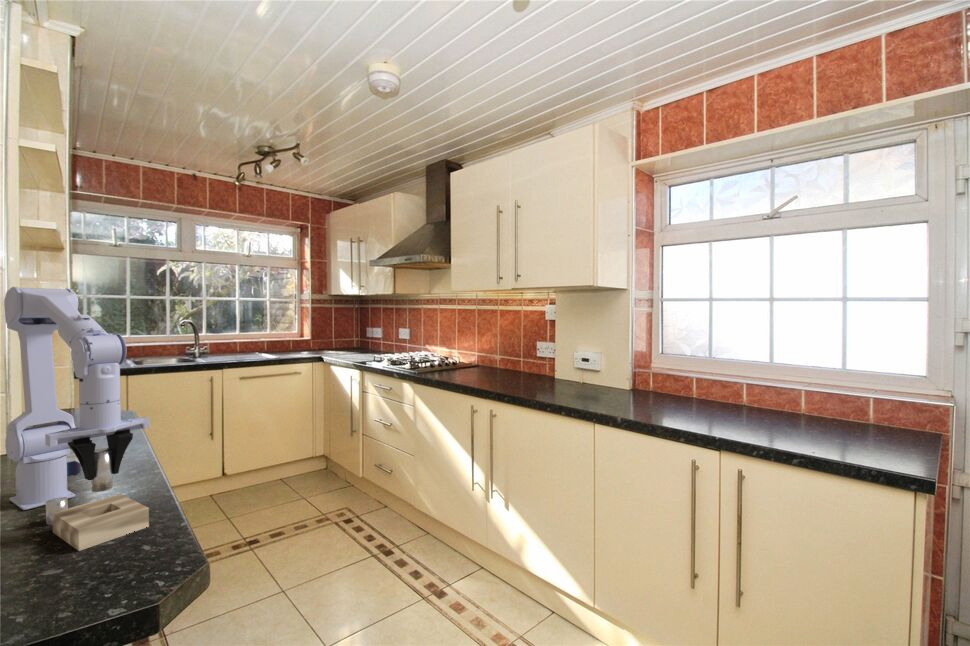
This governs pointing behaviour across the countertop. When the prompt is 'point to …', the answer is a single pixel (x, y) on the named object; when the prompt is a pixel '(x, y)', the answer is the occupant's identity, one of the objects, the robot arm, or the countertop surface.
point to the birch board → (100, 521)
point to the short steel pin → (55, 507)
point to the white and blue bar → (73, 464)
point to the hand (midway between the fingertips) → (101, 475)
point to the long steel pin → (102, 470)
